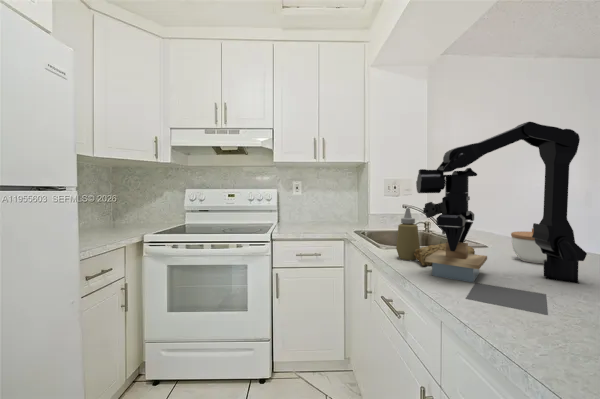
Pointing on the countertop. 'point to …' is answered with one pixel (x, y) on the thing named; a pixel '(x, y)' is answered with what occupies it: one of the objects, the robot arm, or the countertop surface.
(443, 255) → the oak lid
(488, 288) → the rubber mat
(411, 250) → the squeeze bottle
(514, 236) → the lidded bowl
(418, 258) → the sponge
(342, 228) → the countertop surface
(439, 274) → the ceramic dish
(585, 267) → the countertop surface
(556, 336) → the countertop surface
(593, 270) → the countertop surface
